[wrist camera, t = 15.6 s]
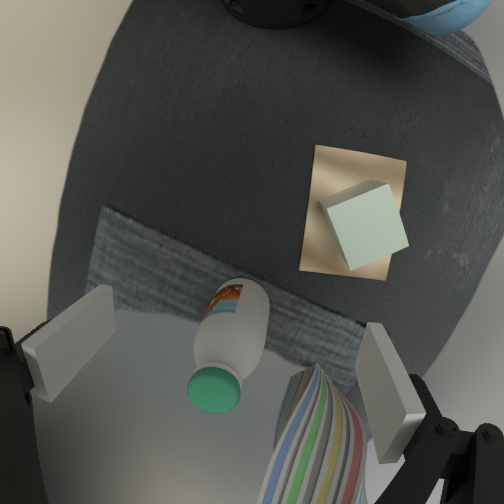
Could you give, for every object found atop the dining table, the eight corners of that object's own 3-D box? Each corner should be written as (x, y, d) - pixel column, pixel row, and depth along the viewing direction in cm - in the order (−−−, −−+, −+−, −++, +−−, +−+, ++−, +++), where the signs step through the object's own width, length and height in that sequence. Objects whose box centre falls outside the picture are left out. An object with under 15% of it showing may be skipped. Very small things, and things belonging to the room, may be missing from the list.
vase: (325, 328, 44) (358, 520, 15) (368, 384, 46) (409, 547, 17) (251, 371, 47) (216, 549, 18) (299, 420, 49) (296, 577, 20)
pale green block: (338, 250, 40) (350, 271, 32) (318, 200, 38) (326, 208, 31) (387, 230, 38) (409, 245, 31) (369, 179, 37) (388, 183, 29)
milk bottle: (268, 275, 43) (253, 362, 23) (271, 326, 45) (260, 428, 25) (211, 277, 44) (159, 359, 24) (218, 327, 46) (178, 423, 26)
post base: (314, 145, 37) (320, 141, 31) (404, 161, 37) (423, 161, 31) (298, 268, 42) (300, 285, 36) (384, 278, 41) (398, 296, 35)
